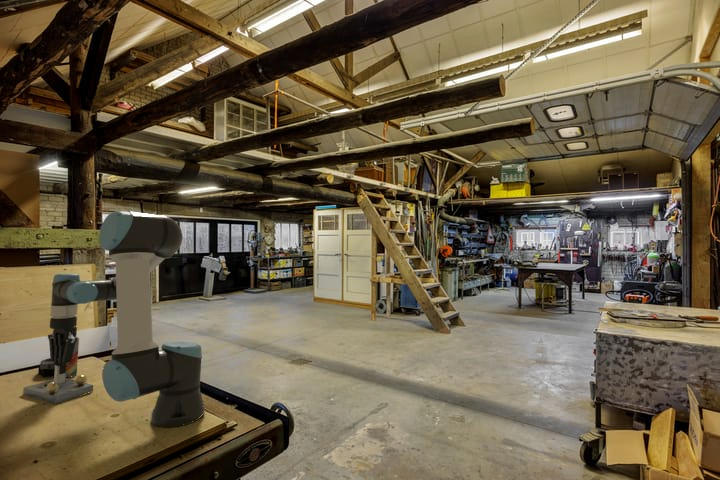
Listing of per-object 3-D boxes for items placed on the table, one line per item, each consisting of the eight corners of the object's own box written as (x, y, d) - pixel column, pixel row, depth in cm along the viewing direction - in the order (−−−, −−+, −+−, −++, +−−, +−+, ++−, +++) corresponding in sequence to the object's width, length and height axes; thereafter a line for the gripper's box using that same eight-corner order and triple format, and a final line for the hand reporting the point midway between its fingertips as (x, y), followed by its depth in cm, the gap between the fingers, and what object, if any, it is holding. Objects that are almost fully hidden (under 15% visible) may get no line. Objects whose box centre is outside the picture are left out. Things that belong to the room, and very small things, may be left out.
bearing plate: (92, 391, 131) (93, 384, 131) (54, 404, 120) (55, 396, 120) (61, 383, 137) (62, 377, 137) (23, 394, 126) (23, 387, 126)
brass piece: (88, 383, 132) (88, 374, 132) (78, 386, 129) (79, 377, 129) (82, 382, 133) (83, 373, 133) (73, 384, 130) (73, 375, 130)
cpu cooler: (67, 354, 156) (75, 359, 150) (66, 367, 156) (74, 373, 150) (36, 359, 147) (43, 364, 141) (35, 373, 147) (42, 379, 141)
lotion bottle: (79, 375, 146) (82, 326, 147) (61, 379, 141) (65, 328, 142) (73, 372, 149) (76, 324, 150) (56, 376, 144) (59, 326, 145)
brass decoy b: (60, 391, 124) (61, 382, 124) (49, 395, 121) (50, 385, 121) (54, 390, 125) (55, 380, 125) (43, 393, 122) (44, 383, 122)
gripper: (86, 316, 131) (82, 382, 130) (64, 313, 135) (59, 376, 134) (63, 319, 124) (58, 389, 123) (40, 316, 128) (35, 383, 127)
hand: (59, 382), depth 128 cm, fingers closed
